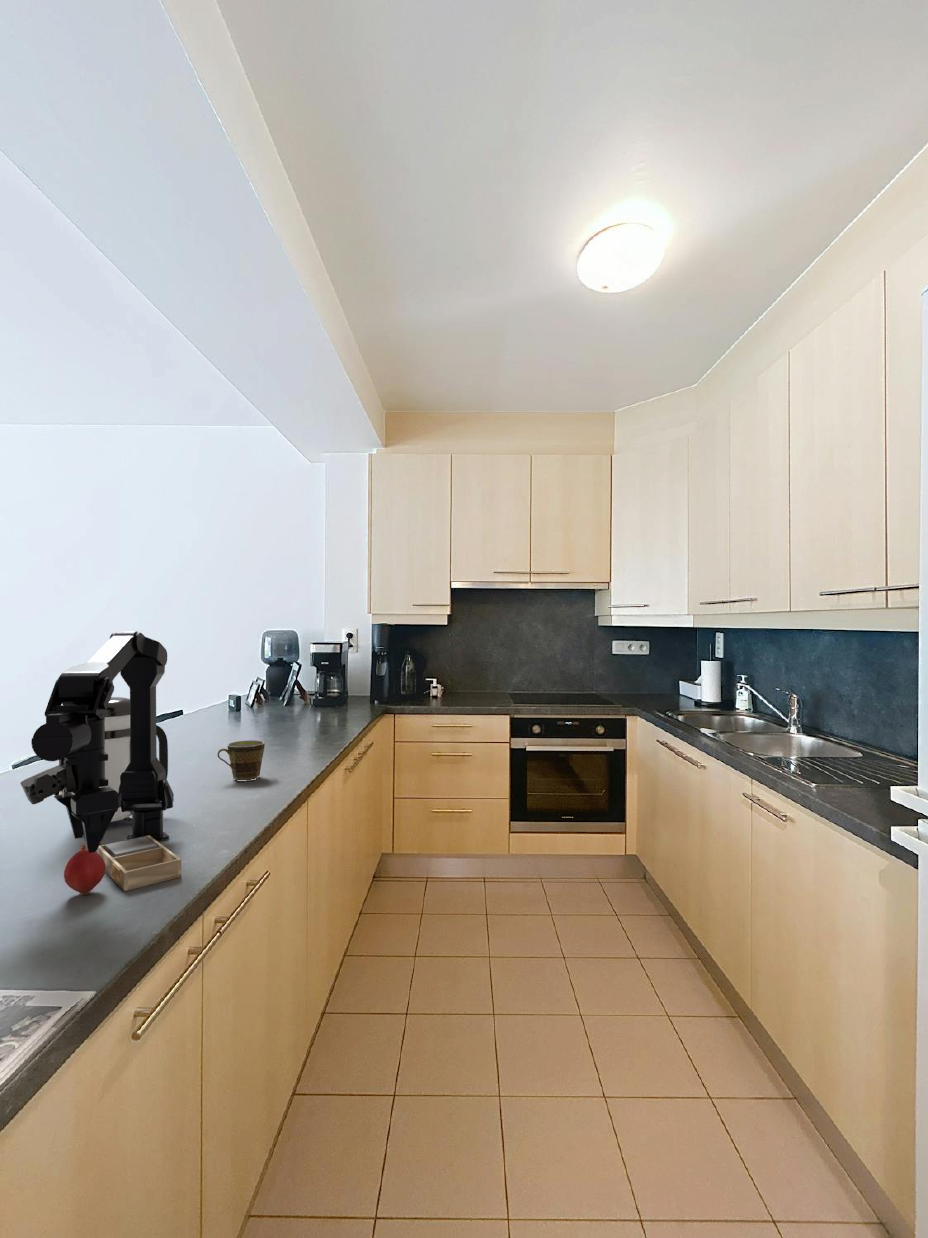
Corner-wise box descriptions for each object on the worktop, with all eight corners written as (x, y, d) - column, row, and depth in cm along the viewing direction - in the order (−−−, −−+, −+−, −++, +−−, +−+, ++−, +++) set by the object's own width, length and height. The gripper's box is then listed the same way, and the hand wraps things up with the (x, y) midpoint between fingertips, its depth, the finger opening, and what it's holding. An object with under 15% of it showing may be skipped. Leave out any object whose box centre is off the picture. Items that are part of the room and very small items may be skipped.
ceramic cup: (256, 773, 191) (256, 739, 191) (270, 779, 184) (270, 743, 184) (211, 780, 183) (211, 744, 183) (224, 787, 175) (224, 749, 175)
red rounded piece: (59, 894, 106) (59, 844, 106) (99, 884, 110) (98, 836, 110) (69, 905, 102) (69, 853, 102) (110, 894, 106) (110, 844, 106)
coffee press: (116, 836, 135) (115, 690, 135) (49, 832, 138) (49, 689, 138) (170, 812, 152) (169, 682, 152) (109, 809, 155) (109, 682, 155)
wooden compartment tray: (95, 863, 120) (95, 845, 120) (149, 851, 126) (149, 833, 126) (123, 891, 107) (123, 871, 107) (181, 876, 113) (181, 857, 113)
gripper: (15, 747, 108) (15, 842, 108) (36, 765, 94) (37, 874, 94) (91, 738, 115) (92, 827, 115) (121, 754, 101) (122, 855, 101)
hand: (85, 845), depth 106 cm, fingers open, 9 cm apart
